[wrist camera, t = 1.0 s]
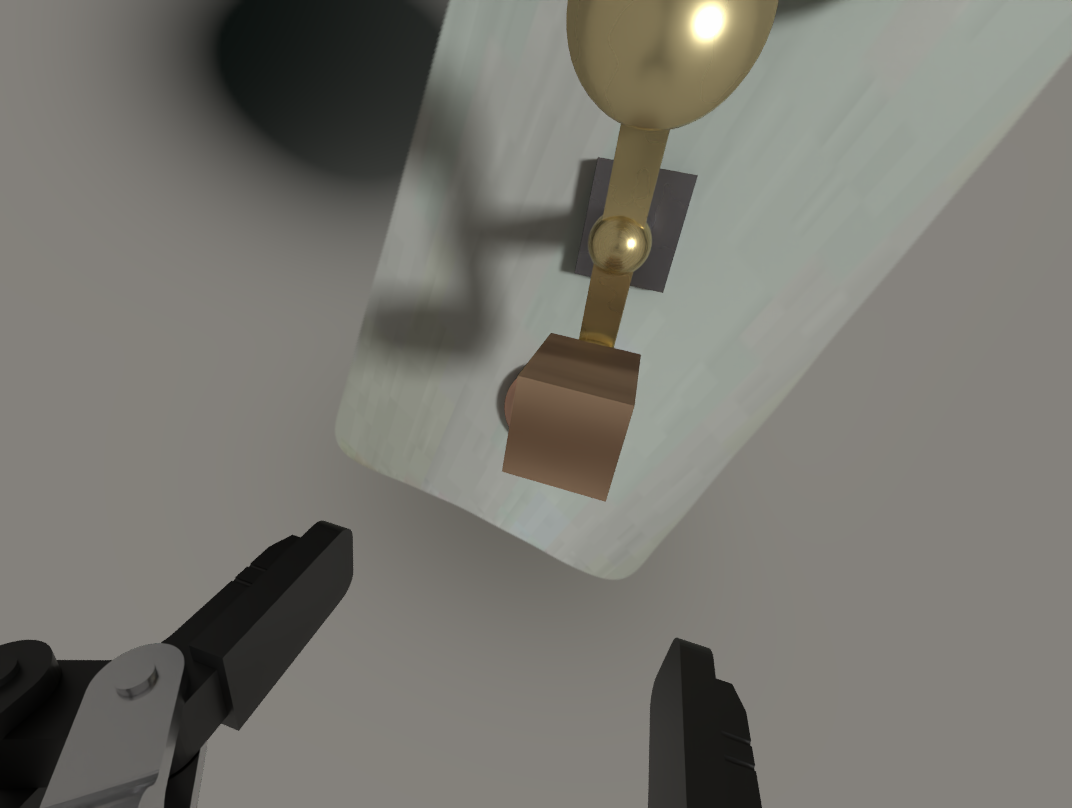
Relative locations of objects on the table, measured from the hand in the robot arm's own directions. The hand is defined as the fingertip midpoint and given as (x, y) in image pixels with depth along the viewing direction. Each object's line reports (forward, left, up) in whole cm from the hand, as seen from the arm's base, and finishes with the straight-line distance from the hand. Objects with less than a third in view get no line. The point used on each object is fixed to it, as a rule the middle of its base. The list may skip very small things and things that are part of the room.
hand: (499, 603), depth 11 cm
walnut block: (0, 0, -14) cm, 14 cm away
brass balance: (-7, 0, -25) cm, 26 cm away
